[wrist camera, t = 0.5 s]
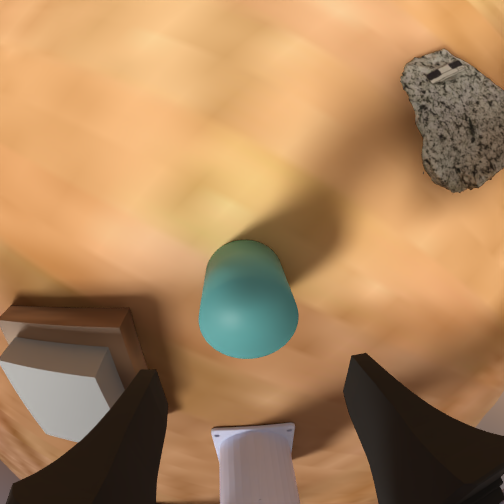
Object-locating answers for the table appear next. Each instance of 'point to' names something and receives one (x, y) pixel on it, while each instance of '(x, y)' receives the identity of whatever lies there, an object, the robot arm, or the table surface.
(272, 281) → the teal cylinder
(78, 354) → the gray top slab
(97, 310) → the walnut base slab
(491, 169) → the rock sample
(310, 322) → the table surface
